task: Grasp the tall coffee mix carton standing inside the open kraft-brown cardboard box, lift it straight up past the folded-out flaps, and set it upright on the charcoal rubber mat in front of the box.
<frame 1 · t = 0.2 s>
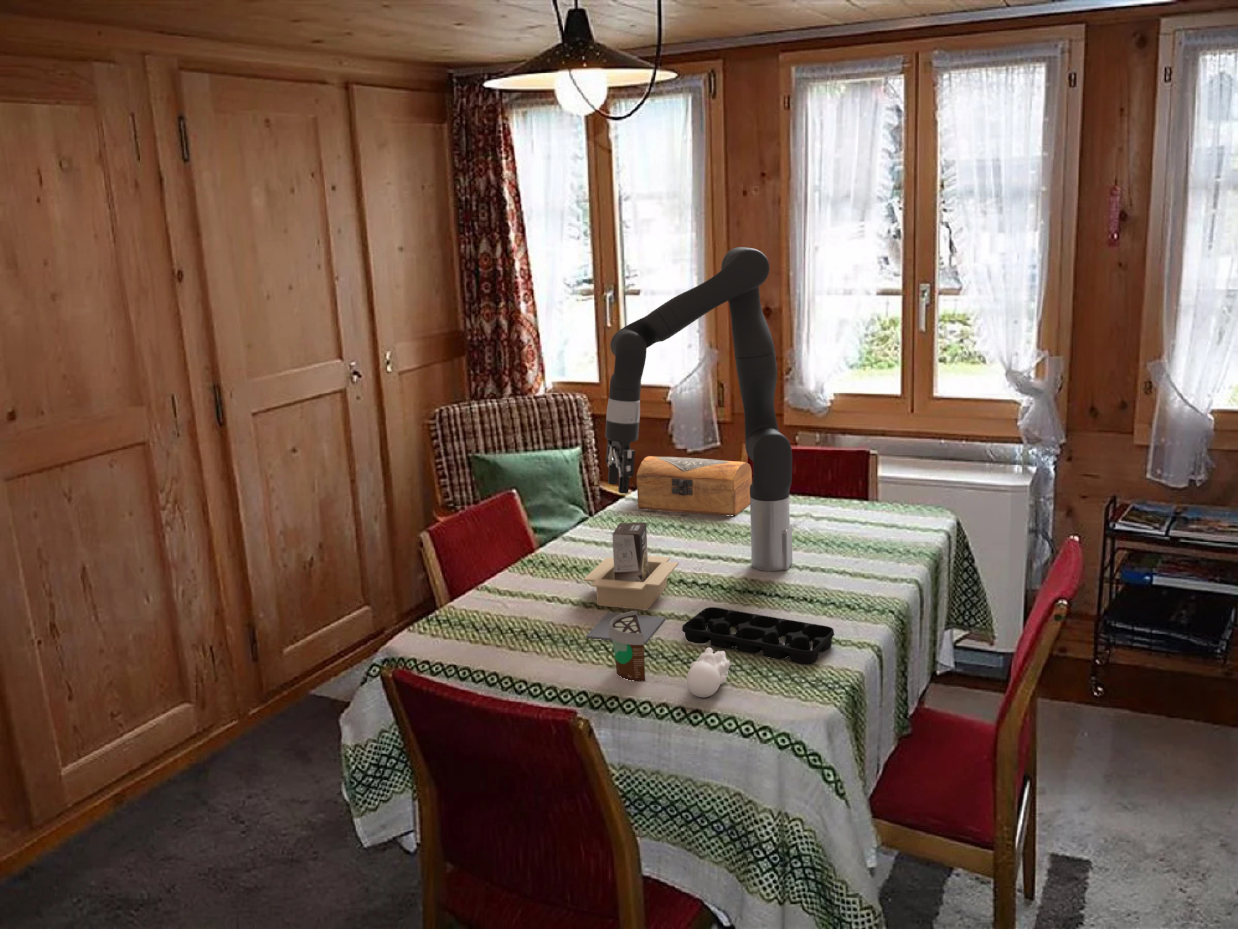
hand: (617, 488, 247), 23 cm above the table, tool pointing down, fingers open, 8 cm apart
carton: (633, 595, 244), on the table
figurine: (708, 689, 197), on the table
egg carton: (757, 645, 215), on the table
food container: (626, 673, 205), on the table
rubber mat: (626, 629, 225), on the table
wooden box: (694, 507, 310), on the table
coffee box: (633, 596, 244), resting in carton
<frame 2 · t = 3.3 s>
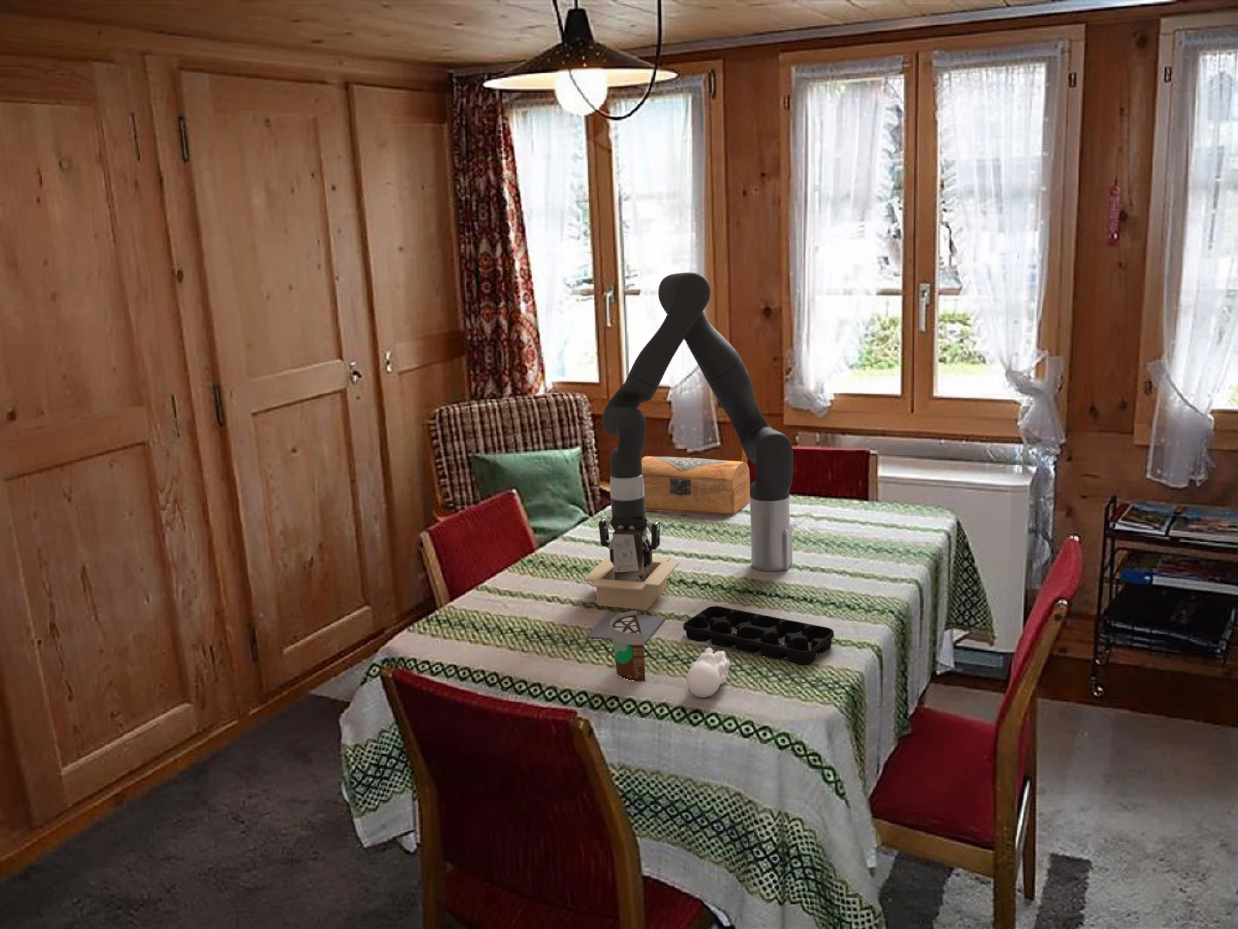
hand: (631, 565, 242), 7 cm above the table, tool pointing down, fingers closed on coffee box, 7 cm apart
coffee box: (633, 596, 244), resting in carton, touching gripper
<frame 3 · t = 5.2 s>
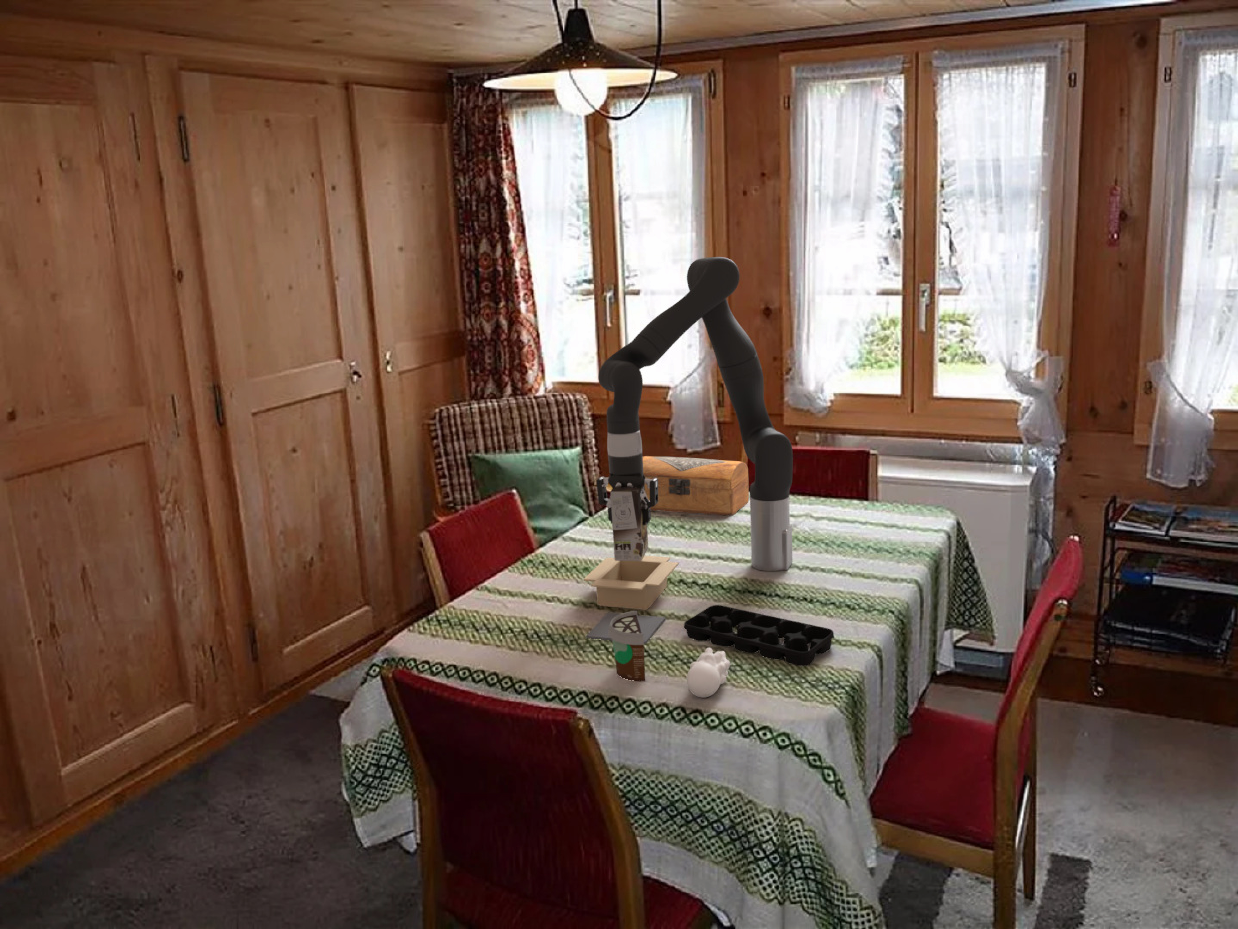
hand: (629, 523, 240), 17 cm above the table, tool pointing down, fingers closed on coffee box, 7 cm apart
coffee box: (632, 555, 241), point 10 cm above the table, touching gripper
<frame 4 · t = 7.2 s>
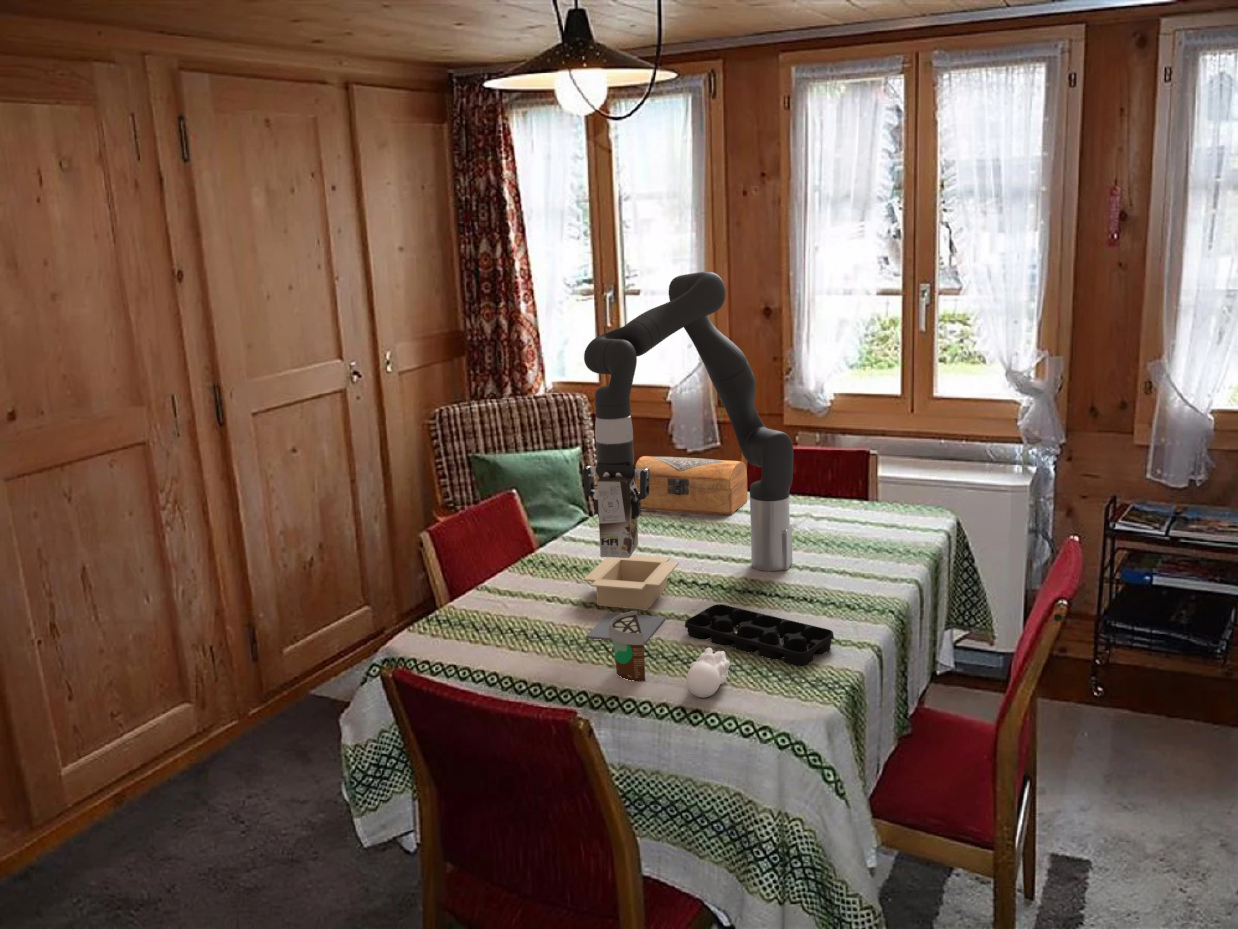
hand: (618, 516, 220), 24 cm above the table, tool pointing down, fingers closed on coffee box, 7 cm apart
coffee box: (619, 551, 222), point 17 cm above the table, touching gripper
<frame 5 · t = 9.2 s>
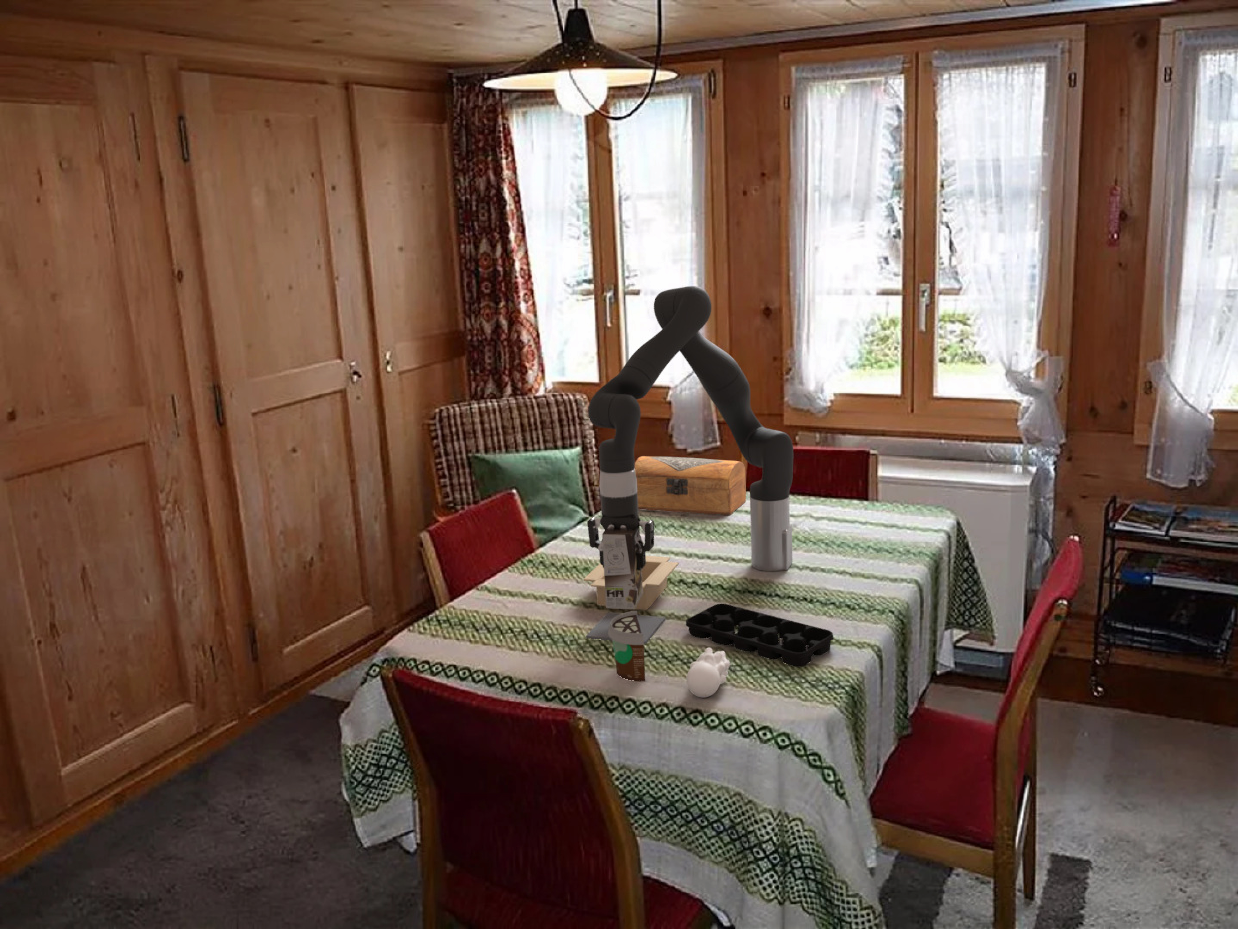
hand: (623, 567, 222), 14 cm above the table, tool pointing down, fingers closed on coffee box, 7 cm apart
coffee box: (625, 602, 224), point 6 cm above the table, touching gripper
when the fingers open (9 cm above the table, at t = 11.1 s): coffee box drops 1 cm, resting on rubber mat.
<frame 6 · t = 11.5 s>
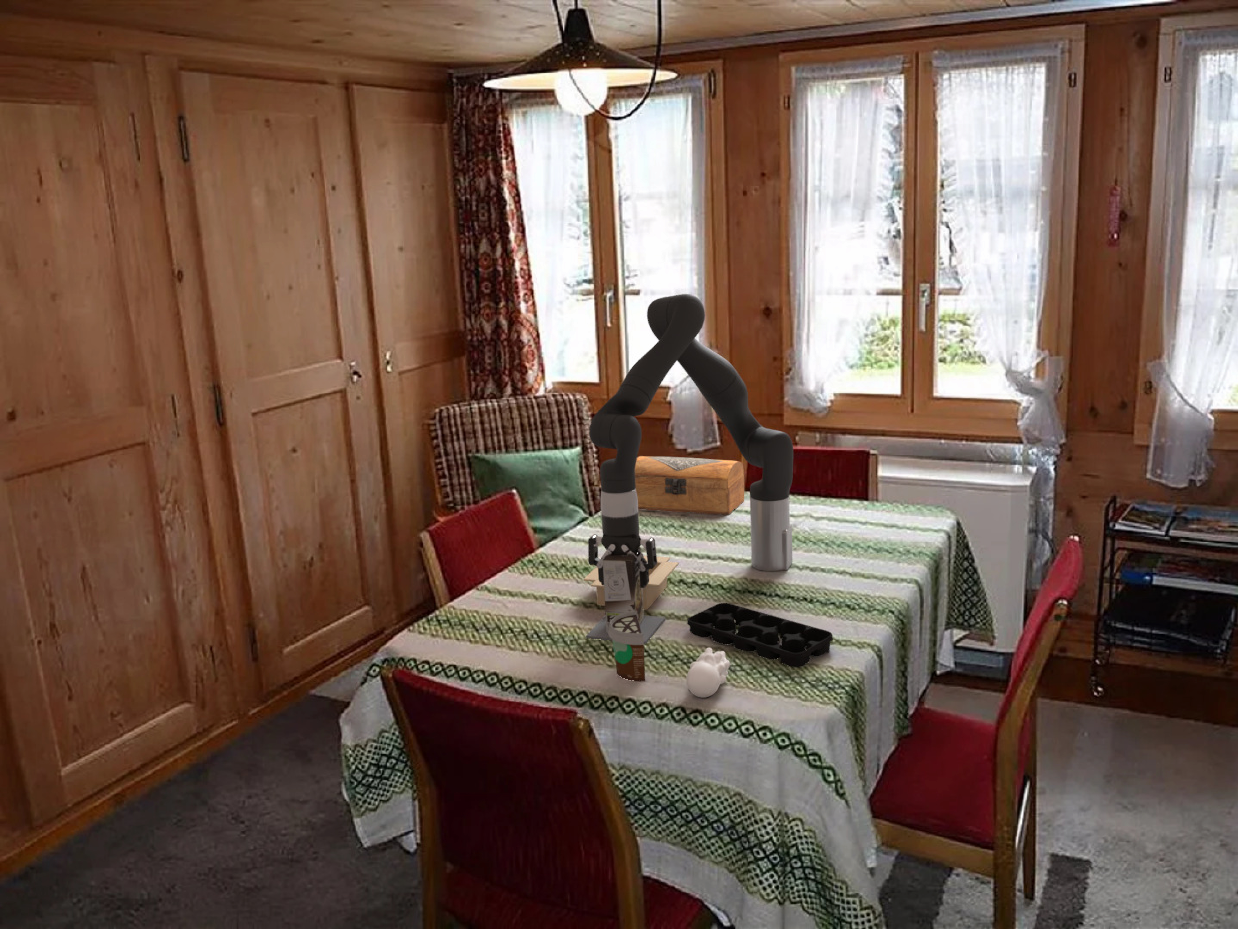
hand: (623, 585, 223), 10 cm above the table, tool pointing down, fingers open, 8 cm apart
coffee box: (625, 627, 225), resting on rubber mat
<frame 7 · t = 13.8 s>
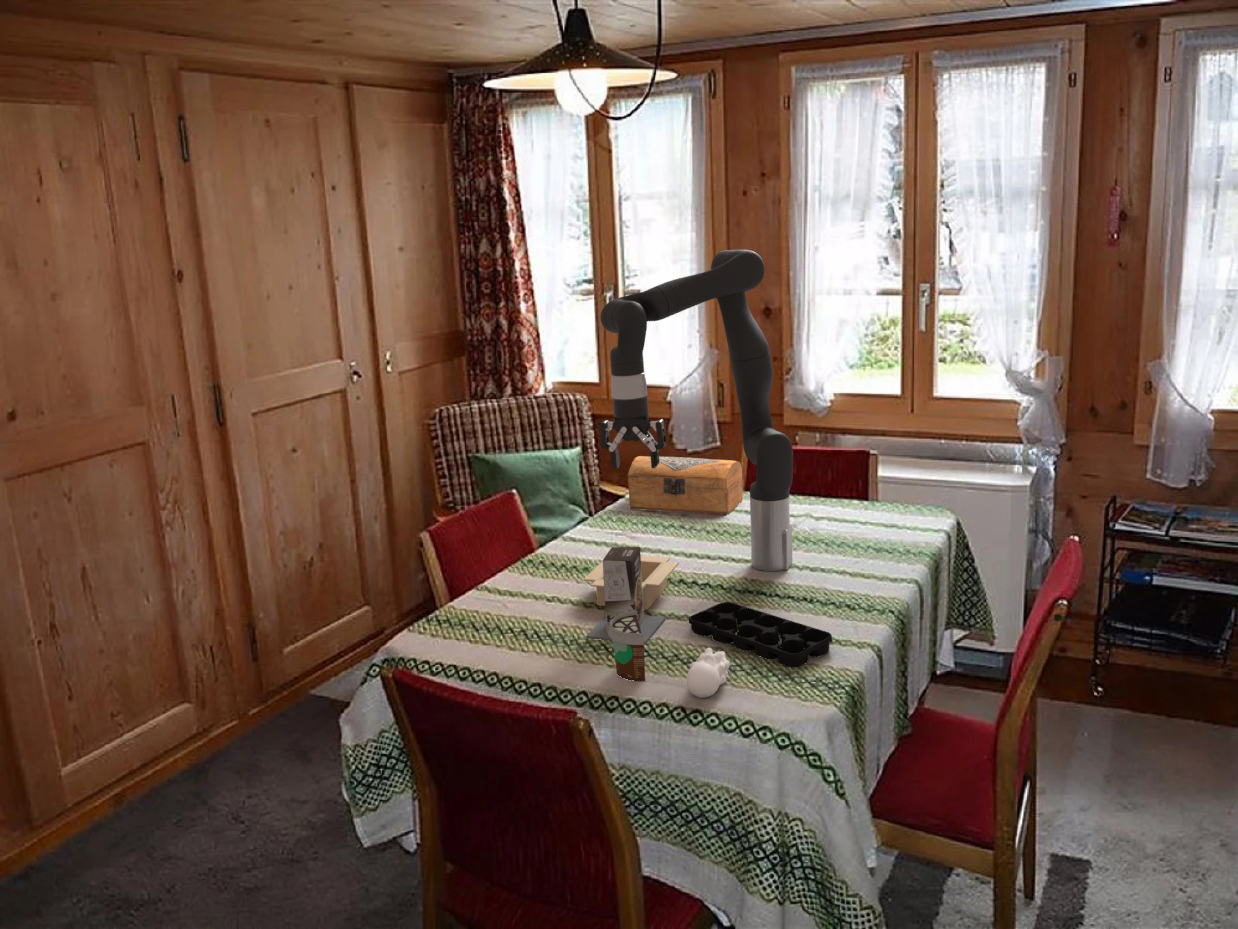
hand: (635, 467, 234), 31 cm above the table, tool pointing down, fingers open, 8 cm apart
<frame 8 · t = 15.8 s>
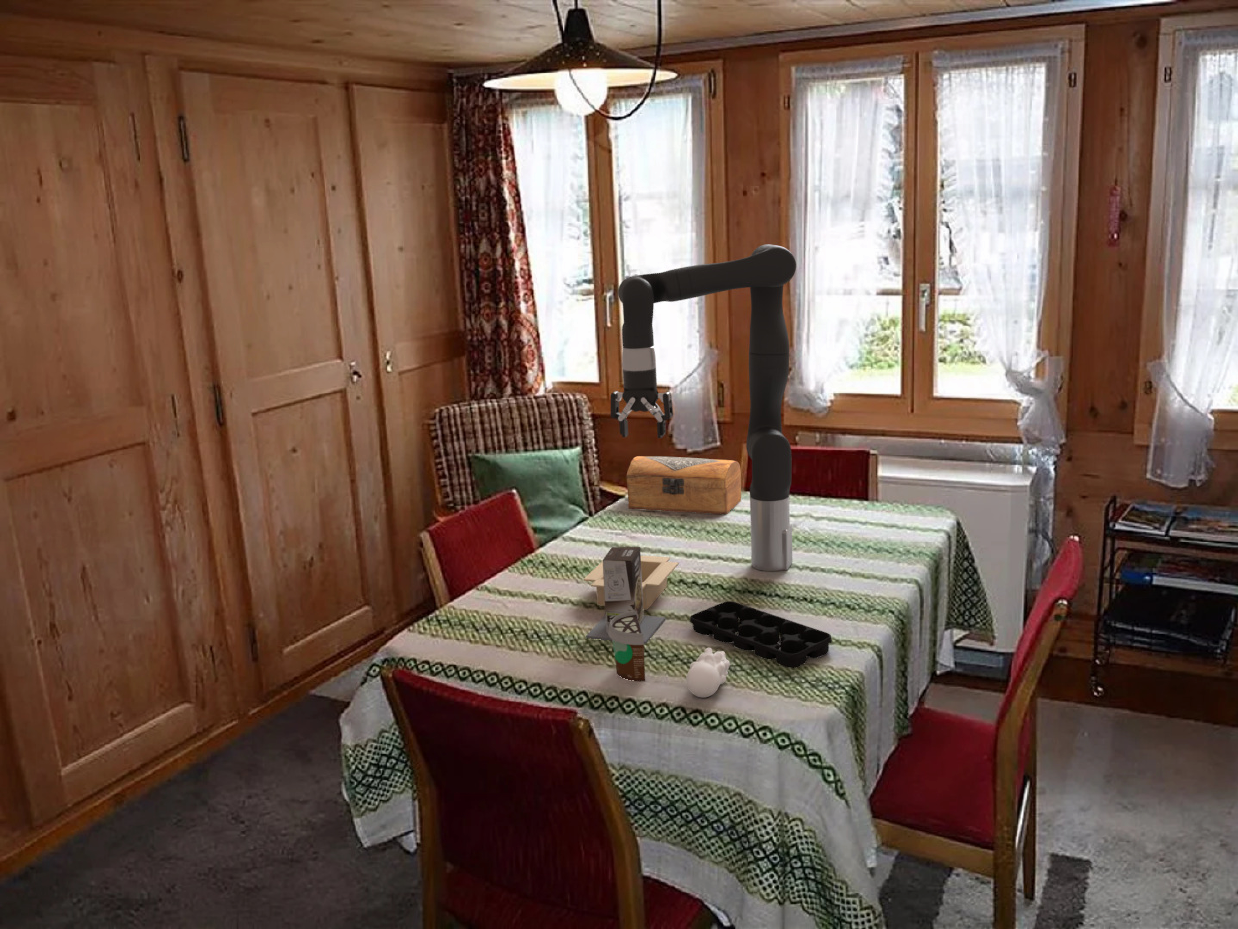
hand: (642, 436, 246), 34 cm above the table, tool pointing down, fingers open, 8 cm apart
at the end: coffee box inside the target area on the rubber mat (0.3 cm from its centre), point 0.4 cm above the rubber mat's base; coffee box tilted 0°; the gripper is holding nothing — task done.
